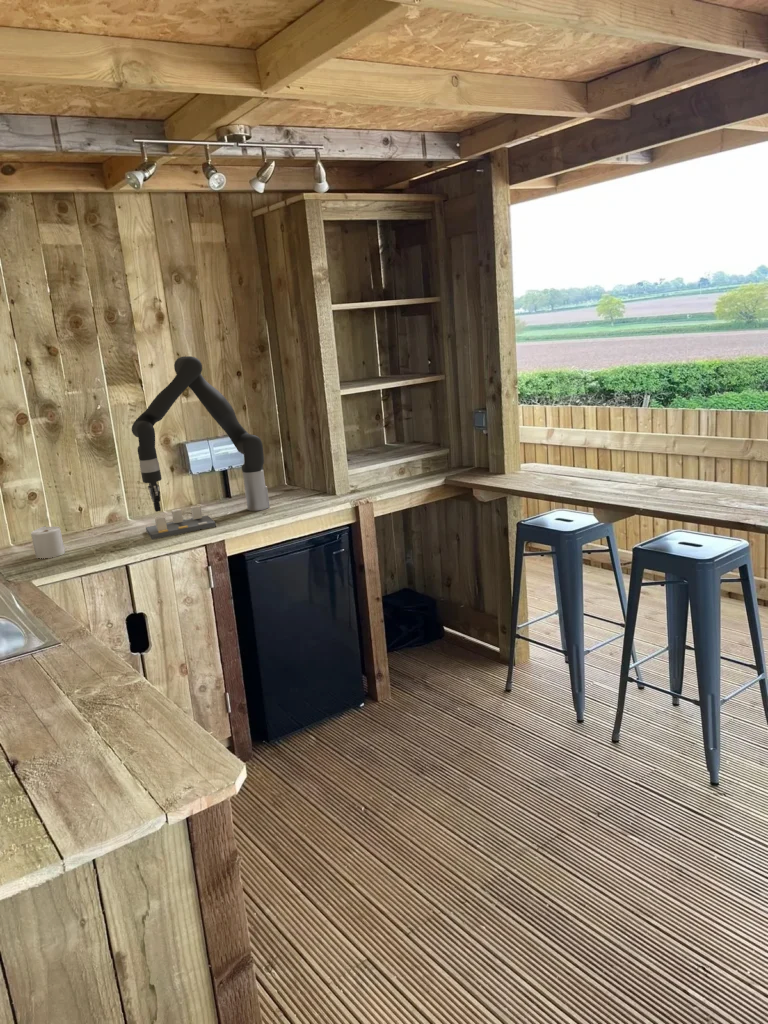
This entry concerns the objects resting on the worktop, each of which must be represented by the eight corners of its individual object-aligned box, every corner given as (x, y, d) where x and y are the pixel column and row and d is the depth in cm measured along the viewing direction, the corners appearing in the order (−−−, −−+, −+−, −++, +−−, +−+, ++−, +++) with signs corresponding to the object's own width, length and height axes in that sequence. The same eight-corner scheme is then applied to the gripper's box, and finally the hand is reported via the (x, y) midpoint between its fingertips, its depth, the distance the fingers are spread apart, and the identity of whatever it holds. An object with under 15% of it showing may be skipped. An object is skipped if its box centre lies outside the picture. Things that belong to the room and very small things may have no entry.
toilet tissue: (47, 560, 297) (41, 535, 294) (28, 557, 303) (22, 532, 300) (71, 551, 305) (66, 527, 303) (51, 549, 312) (46, 525, 309)
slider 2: (200, 516, 331) (199, 505, 330) (202, 518, 329) (200, 506, 327) (192, 518, 330) (190, 506, 329) (193, 519, 327) (192, 508, 326)
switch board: (208, 519, 335) (207, 514, 334) (216, 526, 322) (215, 521, 322) (146, 531, 324) (145, 526, 324) (152, 539, 312) (150, 533, 311)
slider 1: (165, 527, 319) (163, 515, 318) (167, 529, 316) (165, 517, 315) (156, 529, 317) (154, 517, 316) (158, 530, 315) (156, 519, 313)
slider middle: (182, 520, 328) (180, 508, 327) (183, 521, 326) (181, 510, 324) (173, 521, 327) (171, 510, 325) (174, 523, 324) (172, 511, 323)
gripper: (162, 470, 310) (170, 512, 315) (156, 465, 322) (164, 506, 327) (143, 474, 307) (151, 516, 312) (138, 469, 319) (146, 509, 324)
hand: (157, 510), depth 319 cm, fingers closed
